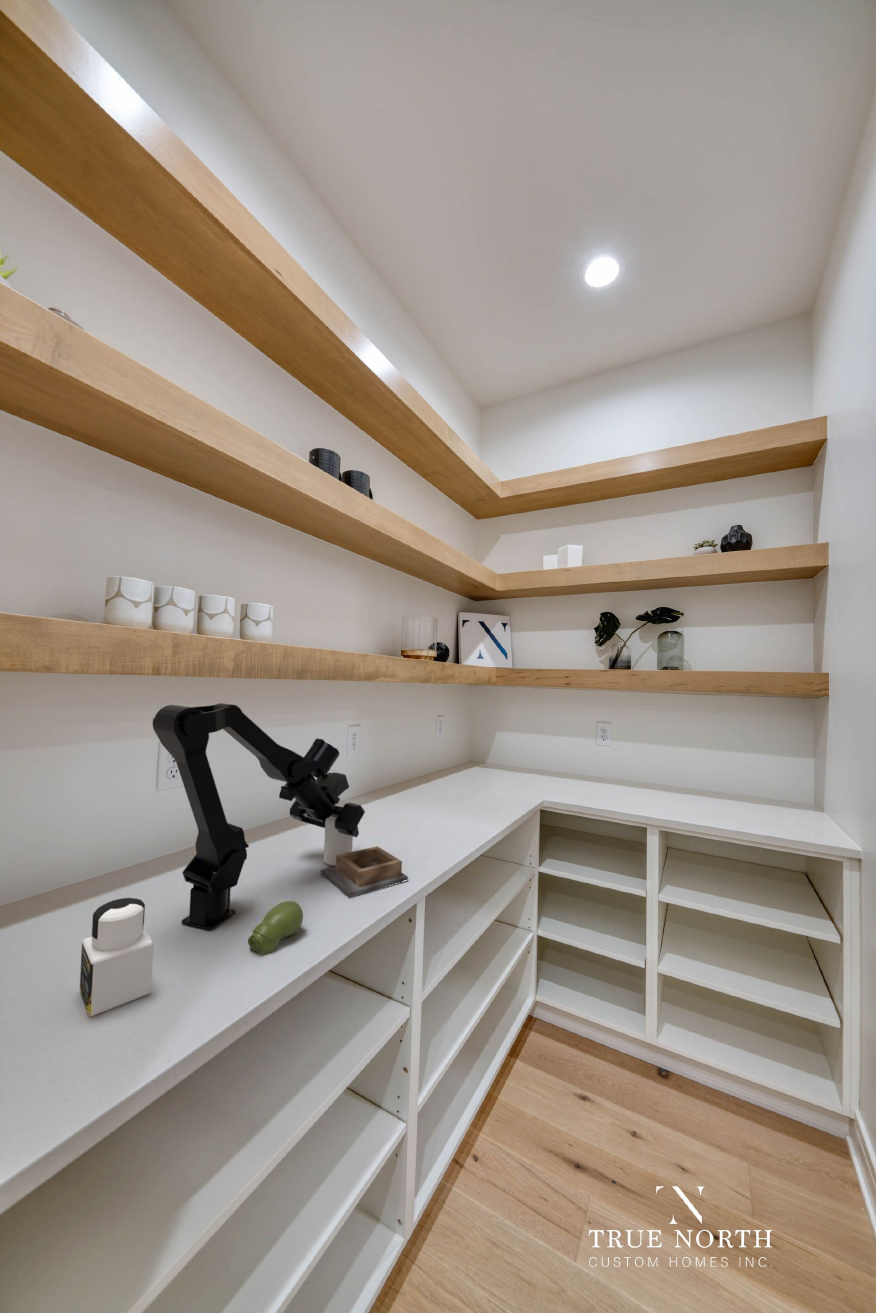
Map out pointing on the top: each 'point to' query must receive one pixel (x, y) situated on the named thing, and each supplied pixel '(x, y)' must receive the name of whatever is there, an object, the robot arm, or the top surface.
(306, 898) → the top surface
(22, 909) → the top surface
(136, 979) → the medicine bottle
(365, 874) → the socket holder
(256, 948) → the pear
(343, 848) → the can
